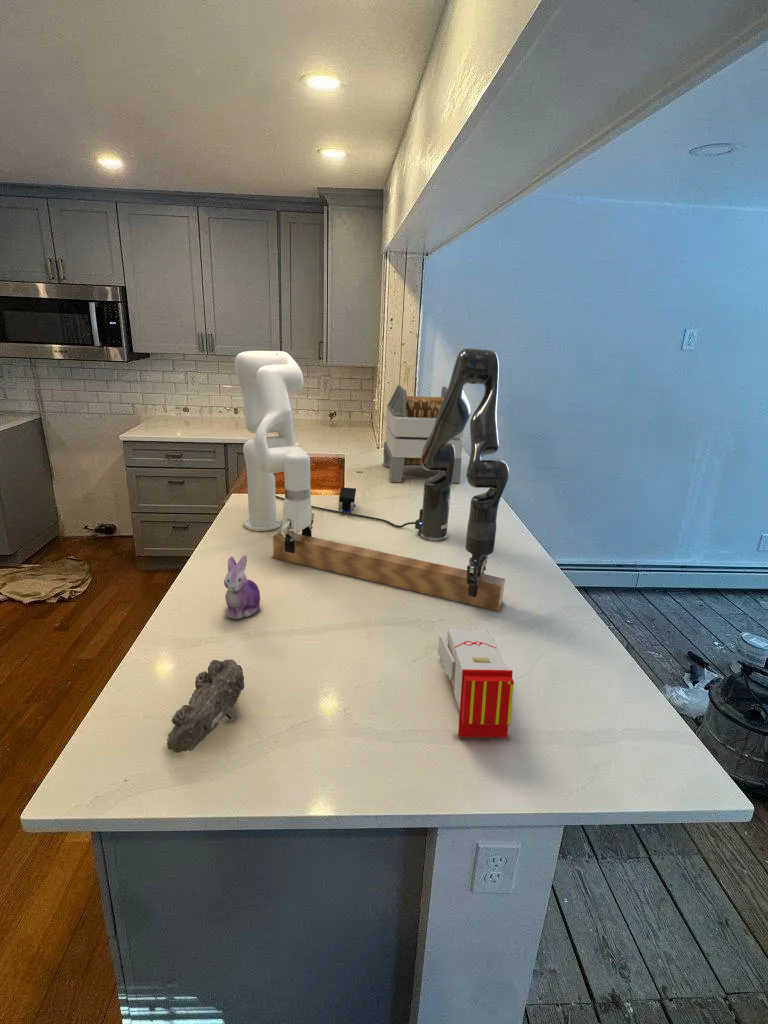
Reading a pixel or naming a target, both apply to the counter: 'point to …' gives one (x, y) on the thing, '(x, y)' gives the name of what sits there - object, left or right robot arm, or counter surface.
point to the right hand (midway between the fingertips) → (474, 591)
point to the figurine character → (347, 500)
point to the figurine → (240, 591)
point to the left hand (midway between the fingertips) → (298, 546)
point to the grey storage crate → (413, 432)
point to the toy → (478, 682)
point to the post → (391, 570)
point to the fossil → (206, 705)
